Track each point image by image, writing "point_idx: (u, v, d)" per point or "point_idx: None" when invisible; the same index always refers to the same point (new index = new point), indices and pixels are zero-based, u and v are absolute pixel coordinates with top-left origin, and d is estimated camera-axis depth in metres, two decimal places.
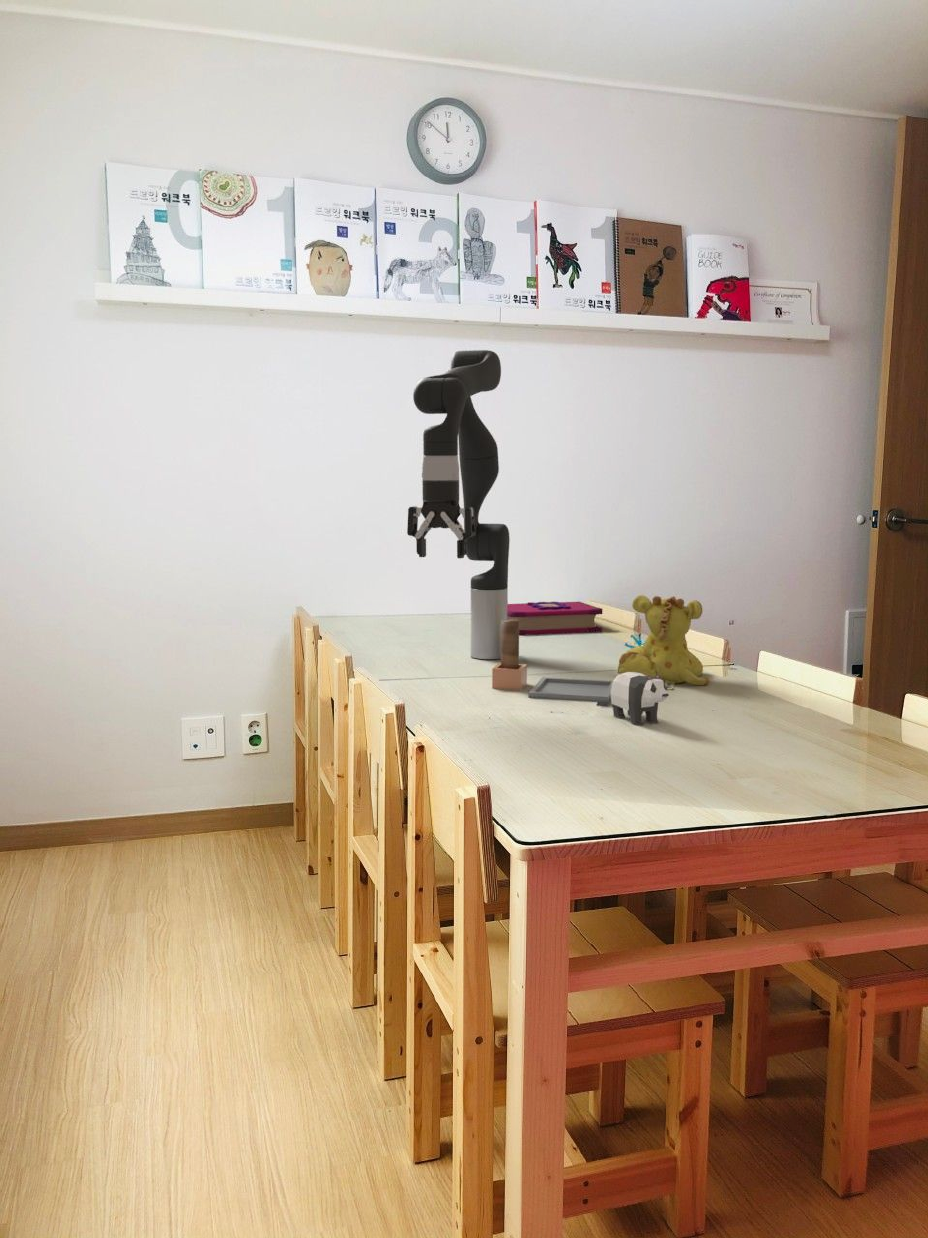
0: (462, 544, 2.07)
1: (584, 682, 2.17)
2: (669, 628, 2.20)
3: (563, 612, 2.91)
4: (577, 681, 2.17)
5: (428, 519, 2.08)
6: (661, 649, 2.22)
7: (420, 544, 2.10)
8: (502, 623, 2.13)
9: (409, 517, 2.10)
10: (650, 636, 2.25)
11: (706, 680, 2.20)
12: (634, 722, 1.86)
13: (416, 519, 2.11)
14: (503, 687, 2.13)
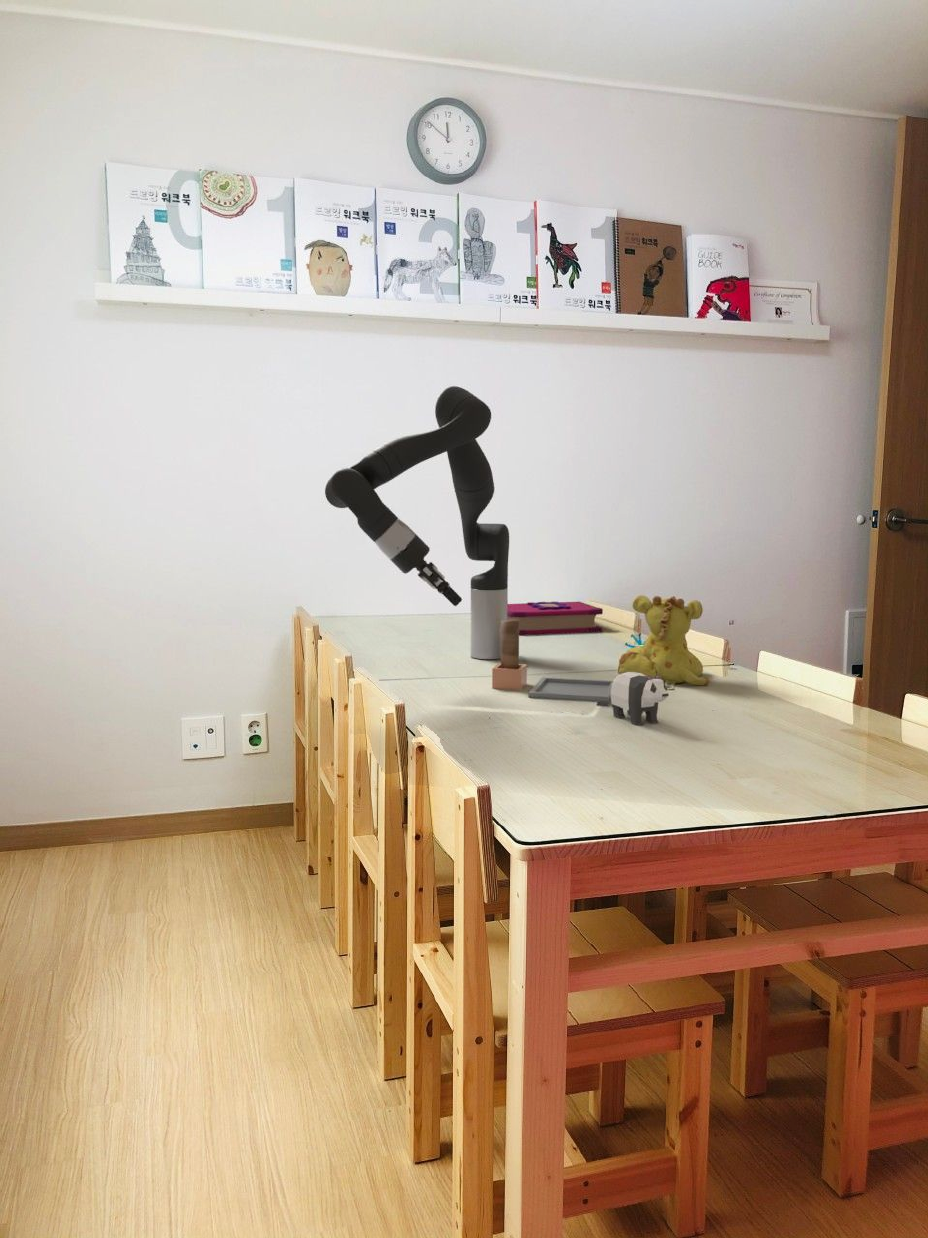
0: None
1: (584, 682, 2.17)
2: (669, 628, 2.19)
3: (563, 612, 2.91)
4: (577, 681, 2.17)
5: (436, 569, 2.09)
6: (661, 649, 2.22)
7: (453, 590, 2.07)
8: (502, 623, 2.13)
9: (436, 571, 2.04)
10: (650, 636, 2.25)
11: (706, 680, 2.20)
12: (634, 722, 1.86)
13: None
14: (503, 687, 2.13)
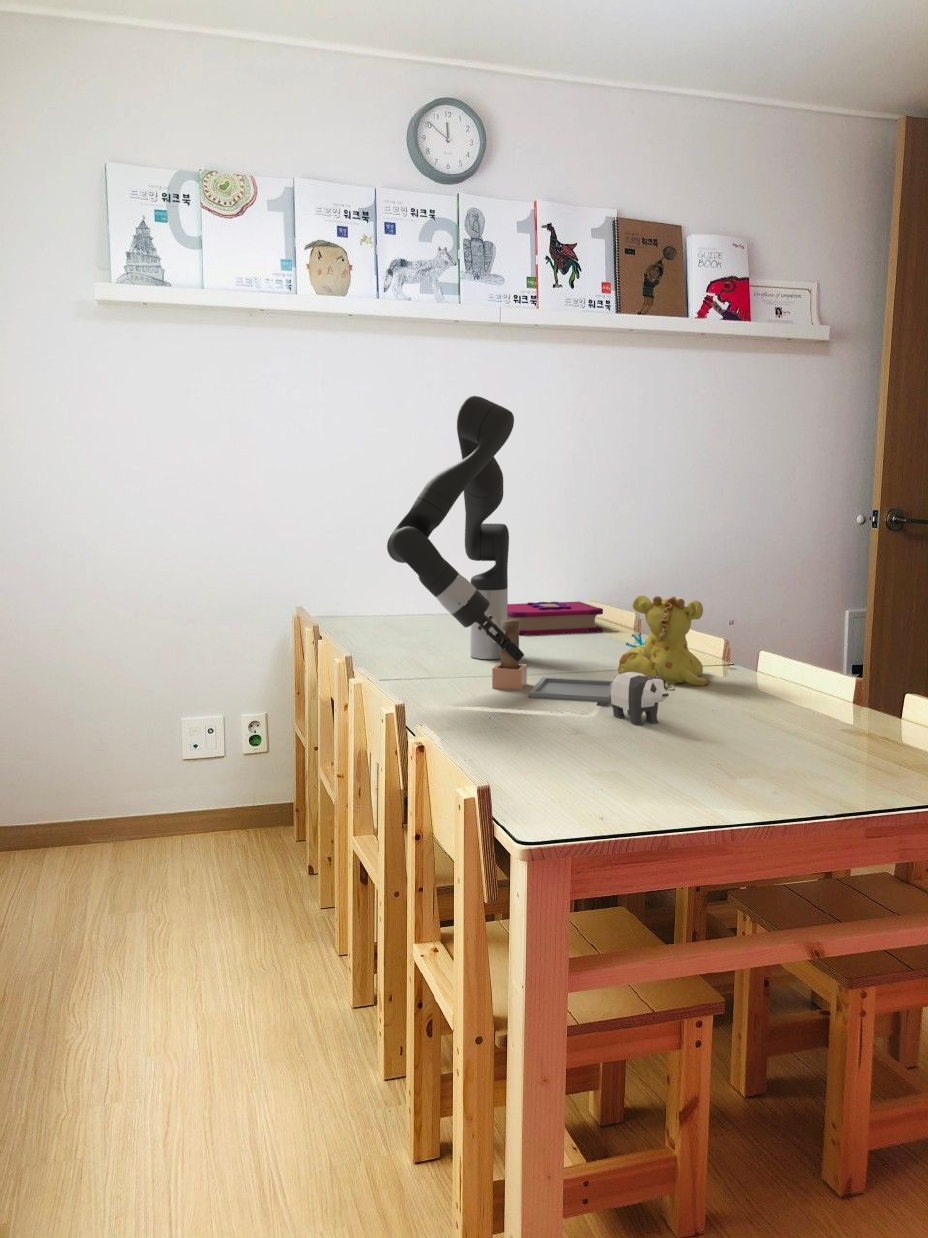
0: None
1: (584, 682, 2.17)
2: (670, 628, 2.19)
3: (564, 612, 2.91)
4: (577, 681, 2.17)
5: (497, 623, 2.12)
6: (661, 650, 2.22)
7: (515, 645, 2.13)
8: (502, 623, 2.13)
9: (501, 630, 2.08)
10: (650, 636, 2.25)
11: (707, 680, 2.20)
12: (634, 722, 1.86)
13: None
14: (503, 687, 2.13)
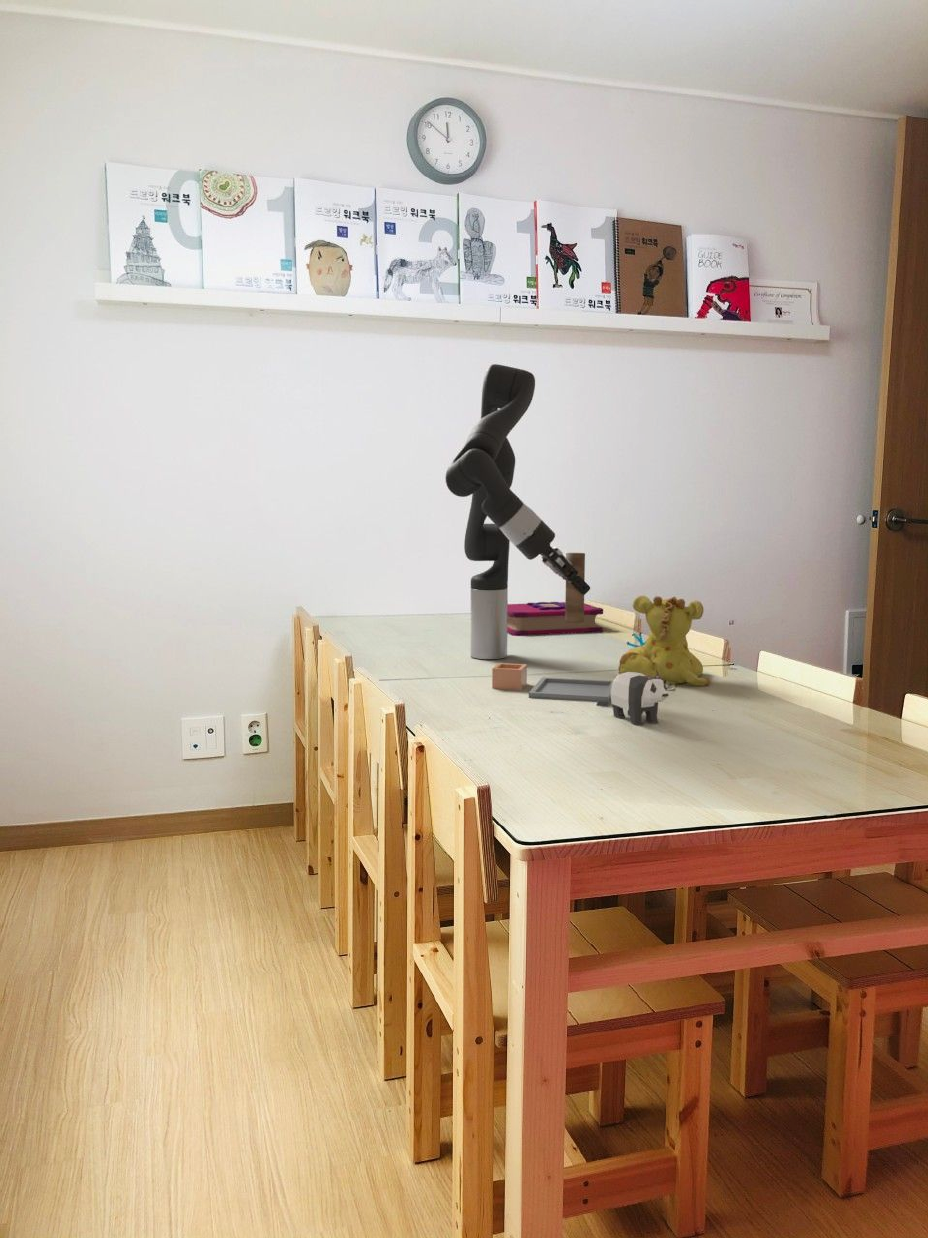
0: None
1: (584, 682, 2.17)
2: (670, 628, 2.19)
3: (564, 612, 2.91)
4: (577, 681, 2.17)
5: None
6: (662, 650, 2.21)
7: (581, 578, 2.05)
8: (567, 555, 2.06)
9: (568, 561, 2.01)
10: (651, 636, 2.25)
11: (707, 680, 2.20)
12: (634, 722, 1.86)
13: None
14: (503, 687, 2.13)
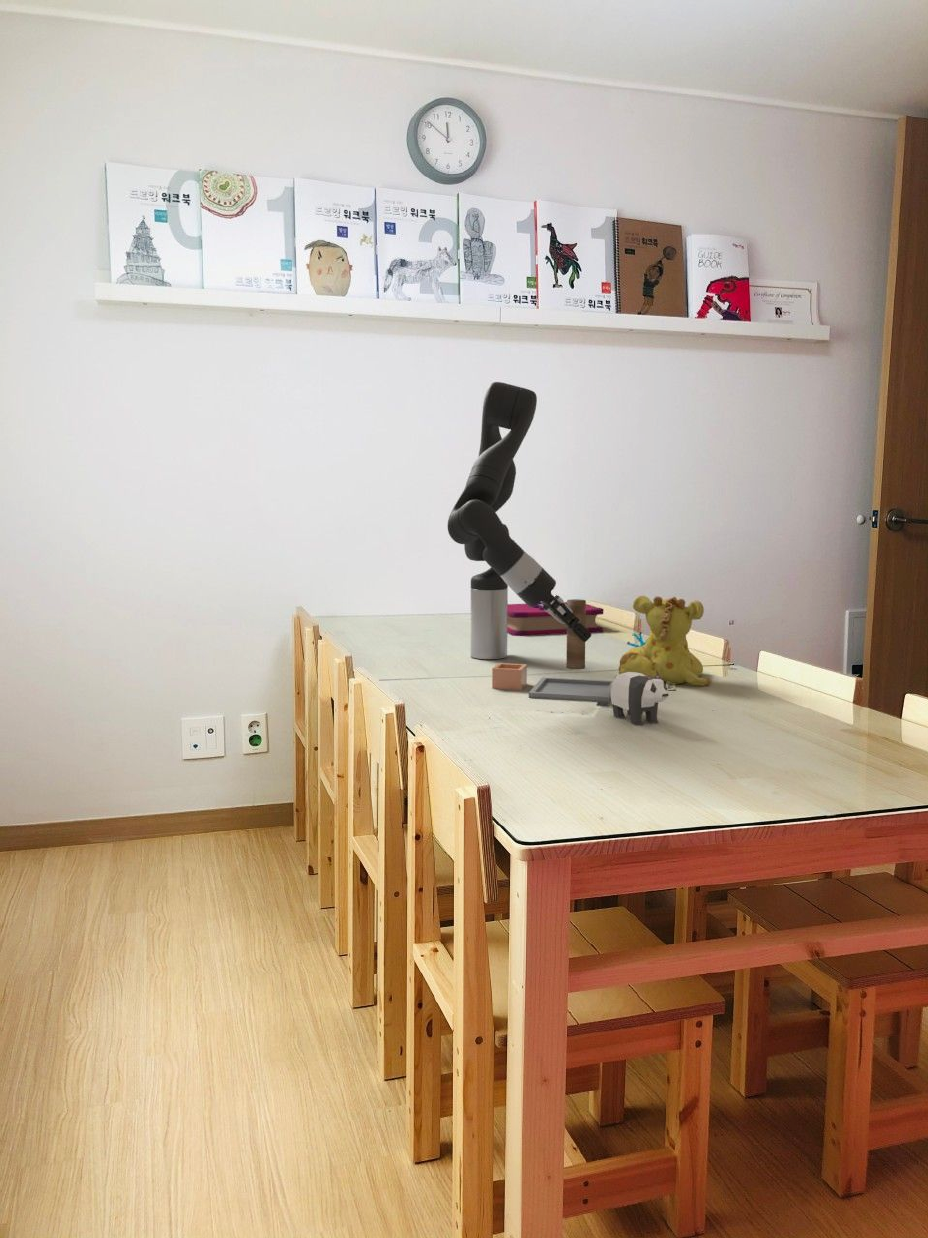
0: None
1: (584, 682, 2.17)
2: (670, 628, 2.19)
3: None
4: (577, 681, 2.17)
5: (564, 603, 2.06)
6: (662, 650, 2.21)
7: (582, 625, 2.06)
8: (568, 603, 2.07)
9: (569, 609, 2.02)
10: (651, 637, 2.24)
11: (707, 680, 2.19)
12: (634, 722, 1.86)
13: None
14: (503, 687, 2.13)
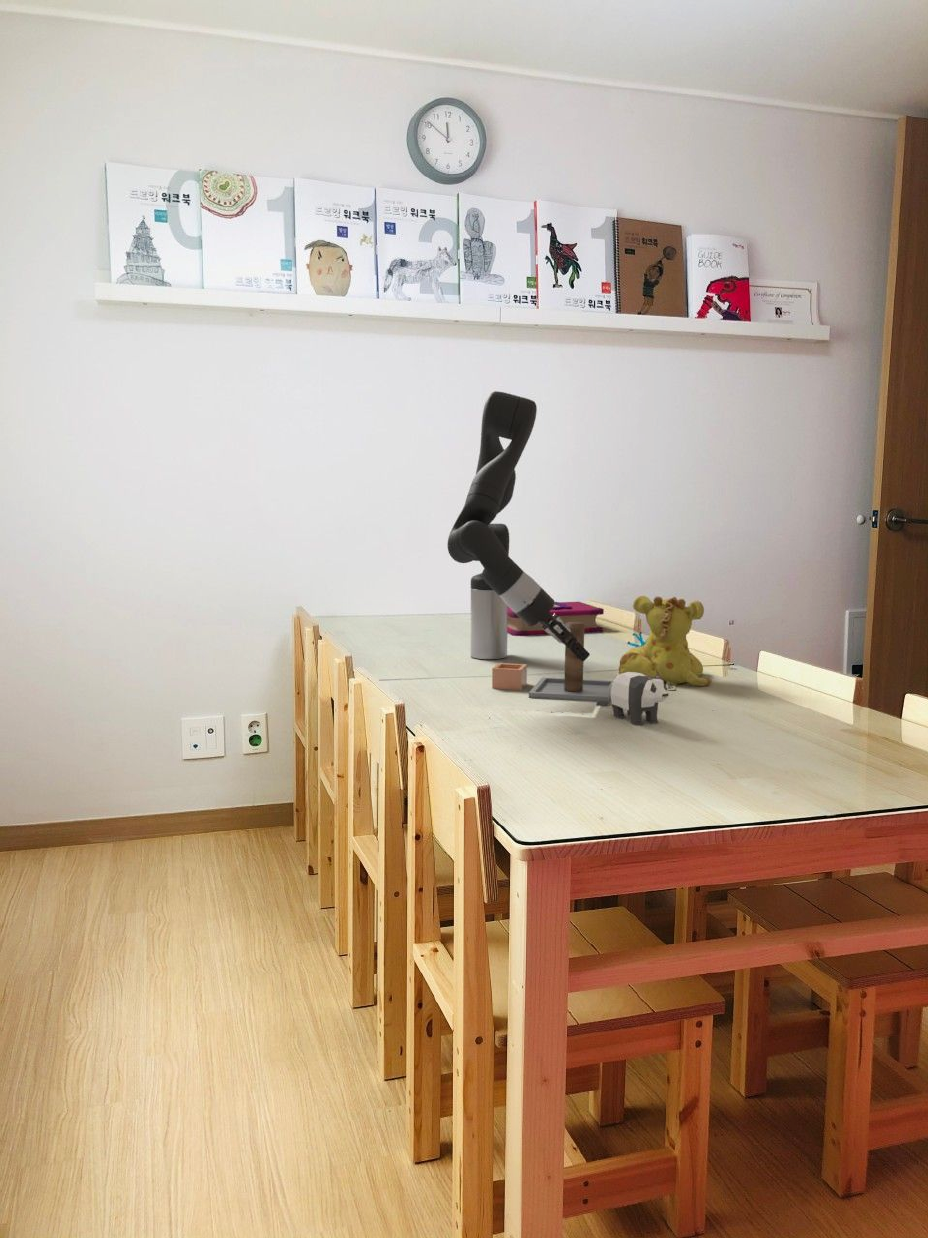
0: None
1: (584, 682, 2.17)
2: (670, 629, 2.19)
3: (565, 612, 2.90)
4: None
5: (562, 622, 2.06)
6: (662, 650, 2.21)
7: (581, 645, 2.06)
8: (567, 625, 2.08)
9: (566, 628, 2.02)
10: (651, 637, 2.24)
11: (708, 681, 2.19)
12: (634, 722, 1.86)
13: None
14: (503, 687, 2.13)
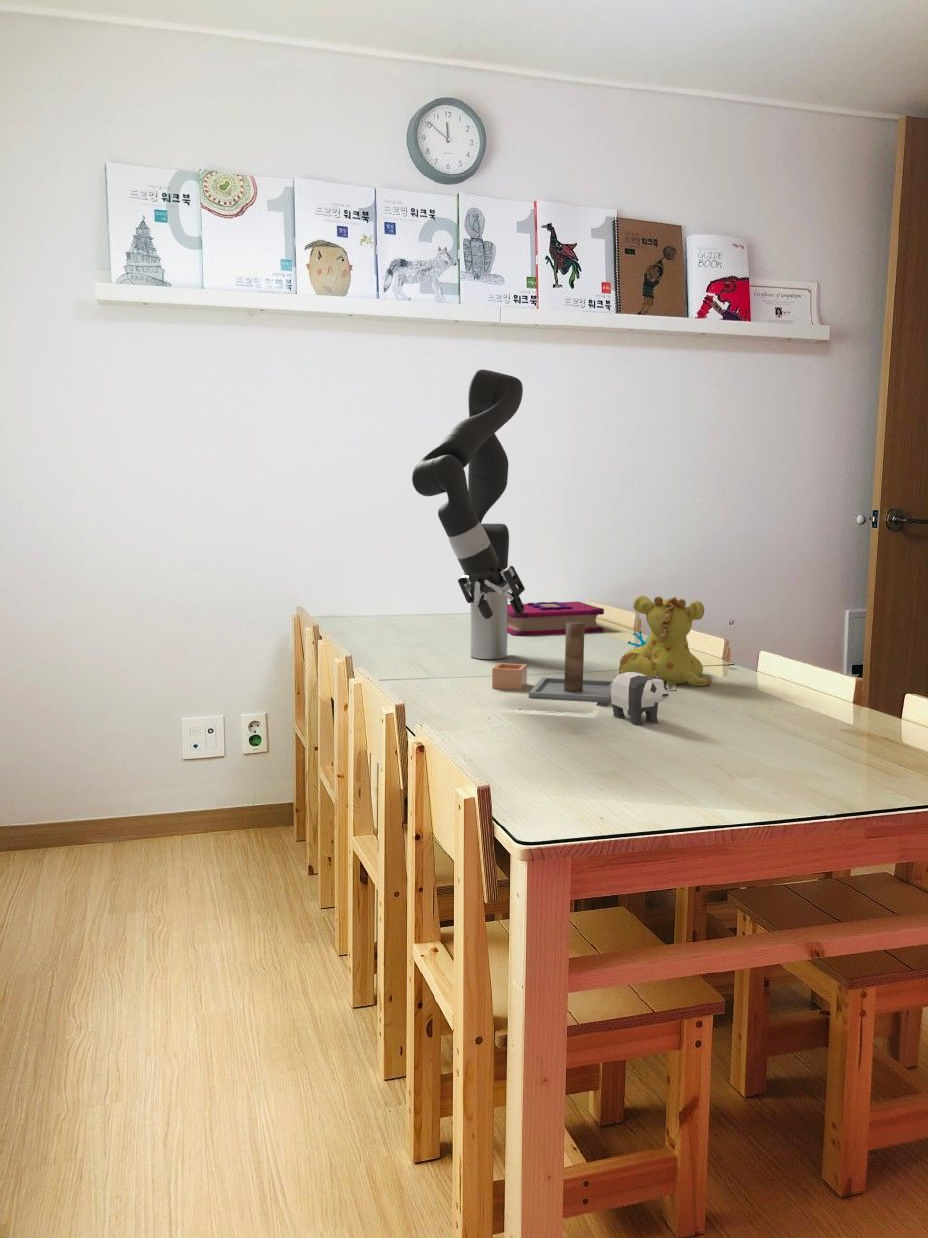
0: None
1: (584, 682, 2.17)
2: (671, 629, 2.19)
3: (565, 612, 2.90)
4: None
5: None
6: (662, 650, 2.21)
7: None
8: (567, 626, 2.08)
9: None
10: (651, 637, 2.24)
11: (708, 681, 2.19)
12: (634, 722, 1.86)
13: None
14: (503, 687, 2.13)
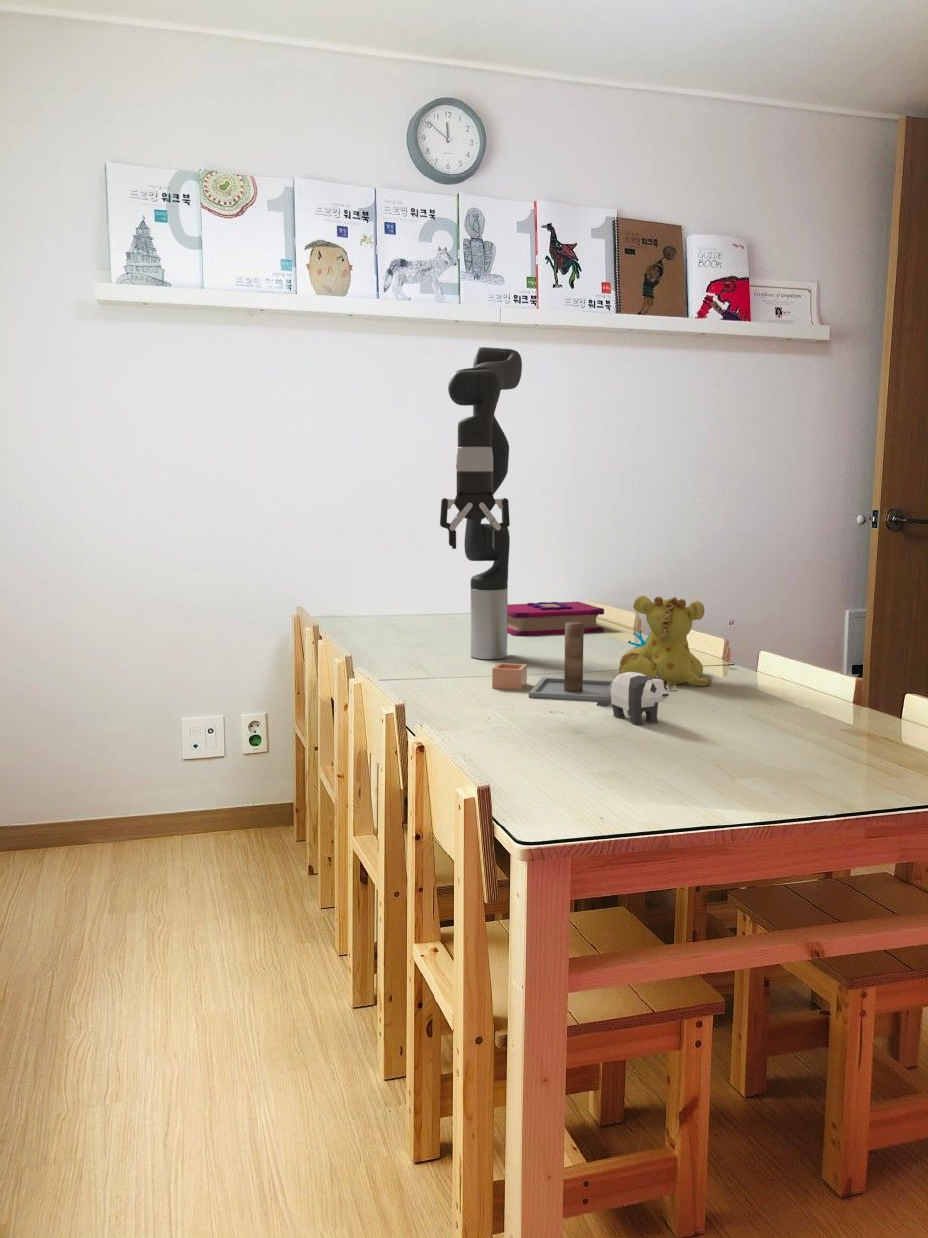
0: None
1: (584, 682, 2.17)
2: (671, 629, 2.18)
3: (566, 612, 2.90)
4: None
5: None
6: (663, 650, 2.21)
7: None
8: (566, 626, 2.07)
9: None
10: (651, 637, 2.24)
11: (708, 681, 2.19)
12: (634, 722, 1.86)
13: (502, 511, 2.09)
14: (503, 687, 2.13)
